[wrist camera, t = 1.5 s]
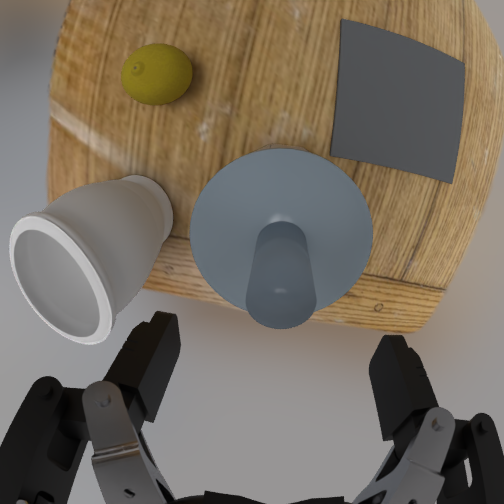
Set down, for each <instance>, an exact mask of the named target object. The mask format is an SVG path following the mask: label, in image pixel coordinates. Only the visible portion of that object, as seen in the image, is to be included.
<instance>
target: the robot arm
mask: <svg viewBox="0 0 504 504" xmlns="http://www.w3.org/2000/svg"><path fill="white" fill-rule="evenodd" d="M180 347H181V342H180V334H179V327H178V319H177V316H176V314H172V313H167V312H161V311H156V312H155V314H154V316H153V317H152V319H151V321H150V322H149V323H148V322H144V321H143V322H141V323H140V324H139V325H137V326H136V327H135V328H134V329H133V330H132V331H131V333H130V335H129V336H128V338H127V341H125V343H124V345H123V346H122V349H121V350H120V351H119V353H118V355H117V357H116V358H115V360H114V362H113V363H112V365H111V367H110V369H109V370H108V372H107V374H106V376H105V377H104V379H103V380H102V381H97V382H95V383H92V384H91V385H89V386H88V387H87V388H86V389H78V388H67V387H63V386H62V385H61V383H60V382H59V381H58V380H57V379H56V378H54V377H51V376H45V377H42V378H40V379H38V380H37V381H35V382H34V384H33V385H32V387H31V388H30V390H29V392H28V394H27V395H26V397H25V399H24V401H23V402H22V404H21V406H20V408H19V410H18V412H17V414H16V415H15V417H14V419H13V421H12V423H11V425H10V427H9V429H8V432H7V433H6V435H5V438H4V440H3V442H2V444H1V446H0V504H67V501H68V498H69V495H70V492H71V488H72V485H73V482H74V479H75V476H76V473H77V470H78V467H79V465H80V462H81V459H82V456H83V453H84V451H85V448H86V445H87V442H88V441H92V445H93V449H94V455H93V456H92V458H91V460H92V466H93V469H94V472H95V475H96V478H97V481H98V484H99V487H100V489H101V492H102V495H103V497H104V500H105V502H106V504H265V503H261V502H258V501H254V500H251V499H248V498H245V497H242V496H237V495H229V494H222V493H216V492H210V491H205V493H204V495H197V496H189V497H184V498H180V499H177V500H176V499H175V497H174V495H173V493H172V492H171V490H170V488H169V486H168V485H167V483H166V481H165V479H164V477H163V476H162V474H161V473H160V471H159V469H158V467H157V465H156V463H155V460H154V458H153V456H152V454H151V452H150V449H149V447H148V445H147V442H146V440H145V438H144V435H143V433H142V430H141V428H142V425H143V423H144V420H145V421H149V422H152V423H153V422H154V420H155V417H156V415H157V412H158V409H159V406H160V404H161V401H162V399H163V396H164V393H165V391H166V388H167V385H168V383H169V380H170V377H171V375H172V372H173V369H174V367H175V364H176V362H177V359H178V357H179V353H180ZM423 367H424V366H423V364H422V361H421V359H420V357H419V355H418V354H417V353H416V352H415V351H414V350H413V349H412V348H408V346H407V343H406V341H405V339H404V337H403V336H402V335H384V336H383V337H382V339H381V341H380V343H379V345H378V347H377V349H376V351H375V353H374V355H373V357H372V359H371V361H370V364H369V376H370V380H371V385H372V389H373V393H374V398H375V402H376V407H377V412H378V417H379V421H380V427H381V431H382V437H383V441H388V440H393V441H394V445H393V446H392V448H391V449H390V451H389V453H388V455H387V456H386V458H385V460H384V461H383V463H382V465H381V466H380V468H379V470H378V471H377V473H376V475H375V476H374V478H373V479H372V481H371V482H370V484H369V485H368V486H367V487H366V488H365V489H364V490H363V491H362V492H361V493H360V494H359V495H358V496H357V497H356V499H355V500H354V501H353V502H352V503H349V502H344V496H341V497H330V498H314V499H313V498H312V499H308V500H304V501H300V502H295V503H291V504H435V501H436V500H437V504H504V455H503V451H502V447H501V444H500V440H499V437H498V433H497V430H496V427H495V424H494V421H493V420H492V418H491V417H490V416H489V415H487V414H485V413H478V414H476V415H475V416H474V417H473V418H472V419H471V420H470V421H467V420H458V419H454V417H453V416H452V414H451V413H450V412H449V411H448V410H446V409H444V408H441V407H439V405H438V403H437V400H436V397H435V394H434V392H433V389H432V386H431V384H430V381H429V379H428V377H427V374H426V371H425V369H424V368H423ZM467 458H469V463H470V468H471V473H472V484H471V486H470V487H468V482H467V475H466V470H465V465H464V460H466V459H467Z"/></svg>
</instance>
